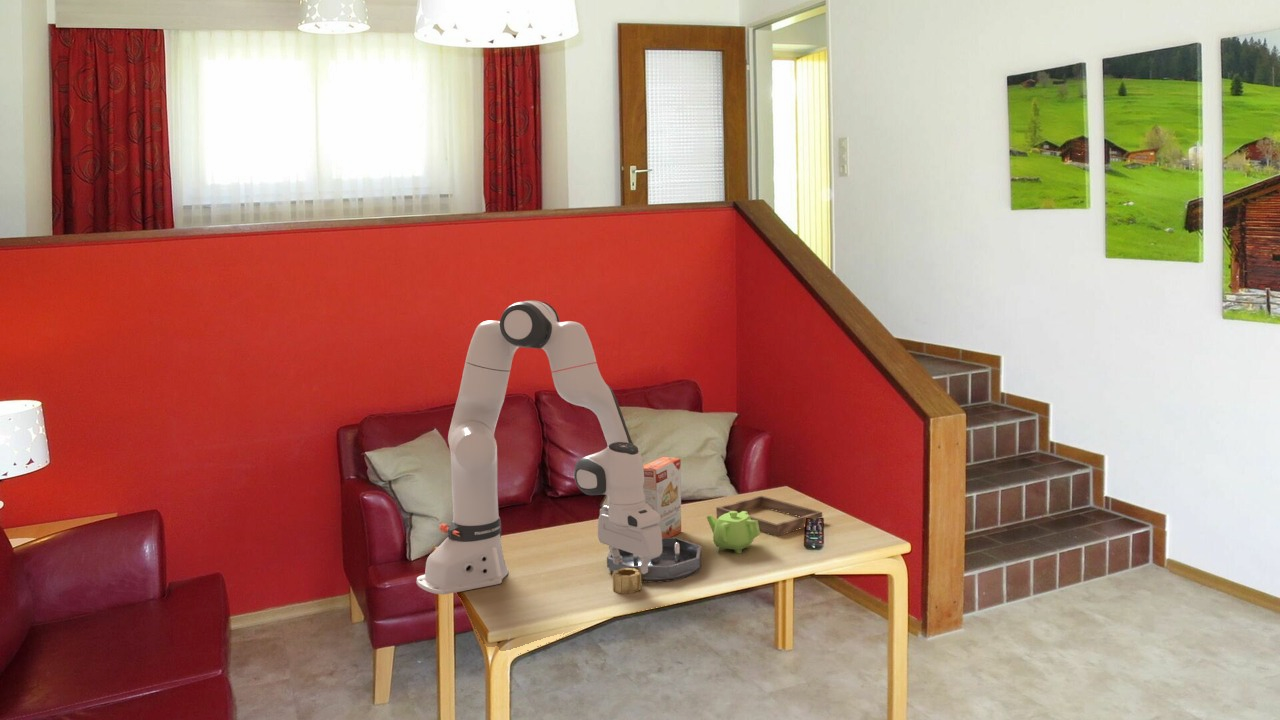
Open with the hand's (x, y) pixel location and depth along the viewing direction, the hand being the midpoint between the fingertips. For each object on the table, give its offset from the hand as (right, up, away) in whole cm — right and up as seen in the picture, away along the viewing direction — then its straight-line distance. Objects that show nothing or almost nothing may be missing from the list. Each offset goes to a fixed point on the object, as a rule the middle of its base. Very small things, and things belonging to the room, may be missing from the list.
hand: (630, 568), depth 258 cm
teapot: (+27, 0, +28) cm, 38 cm away
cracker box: (+8, +1, +38) cm, 39 cm away
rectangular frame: (+39, +4, +51) cm, 64 cm away
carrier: (+6, -2, +15) cm, 17 cm away
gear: (-1, -5, 0) cm, 5 cm away
